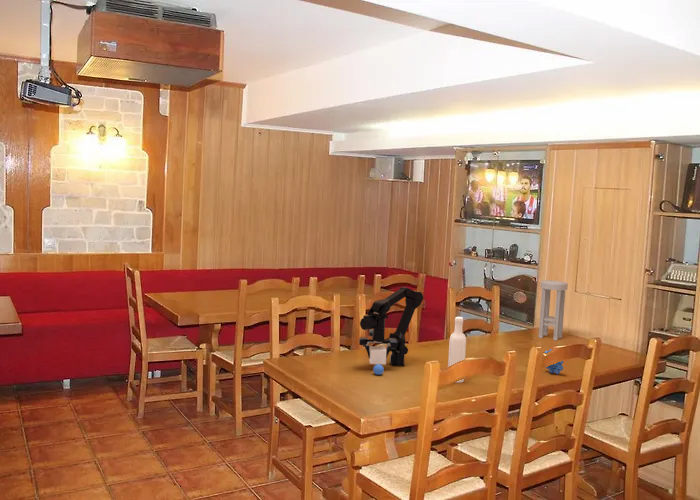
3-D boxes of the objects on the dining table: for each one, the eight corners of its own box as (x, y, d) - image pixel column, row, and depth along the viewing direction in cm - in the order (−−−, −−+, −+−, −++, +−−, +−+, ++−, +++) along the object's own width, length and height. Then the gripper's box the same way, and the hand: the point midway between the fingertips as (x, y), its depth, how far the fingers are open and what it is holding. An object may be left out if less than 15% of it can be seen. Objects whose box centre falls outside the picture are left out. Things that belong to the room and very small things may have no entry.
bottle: (465, 379, 315) (469, 316, 313) (462, 383, 308) (466, 319, 305) (448, 377, 318) (452, 315, 315) (445, 381, 311) (449, 317, 308)
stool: (559, 341, 407) (563, 284, 404) (534, 337, 415) (538, 281, 412) (566, 337, 420) (570, 282, 417) (541, 333, 428) (545, 279, 425)
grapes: (537, 371, 334) (538, 348, 333) (544, 369, 339) (546, 346, 338) (557, 377, 326) (559, 353, 325) (565, 375, 330) (566, 351, 329)
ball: (383, 373, 320) (383, 363, 319) (383, 376, 315) (384, 366, 314) (372, 373, 320) (373, 362, 319) (373, 376, 315) (373, 365, 314)
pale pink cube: (384, 360, 331) (385, 346, 331) (385, 364, 324) (386, 350, 323) (369, 359, 331) (369, 346, 330) (369, 363, 323) (370, 350, 323)
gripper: (396, 324, 334) (395, 355, 335) (359, 323, 334) (358, 354, 335) (398, 329, 323) (397, 361, 324) (360, 328, 322) (358, 359, 324)
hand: (377, 358), depth 327 cm, fingers closed on pale pink cube, 8 cm apart
